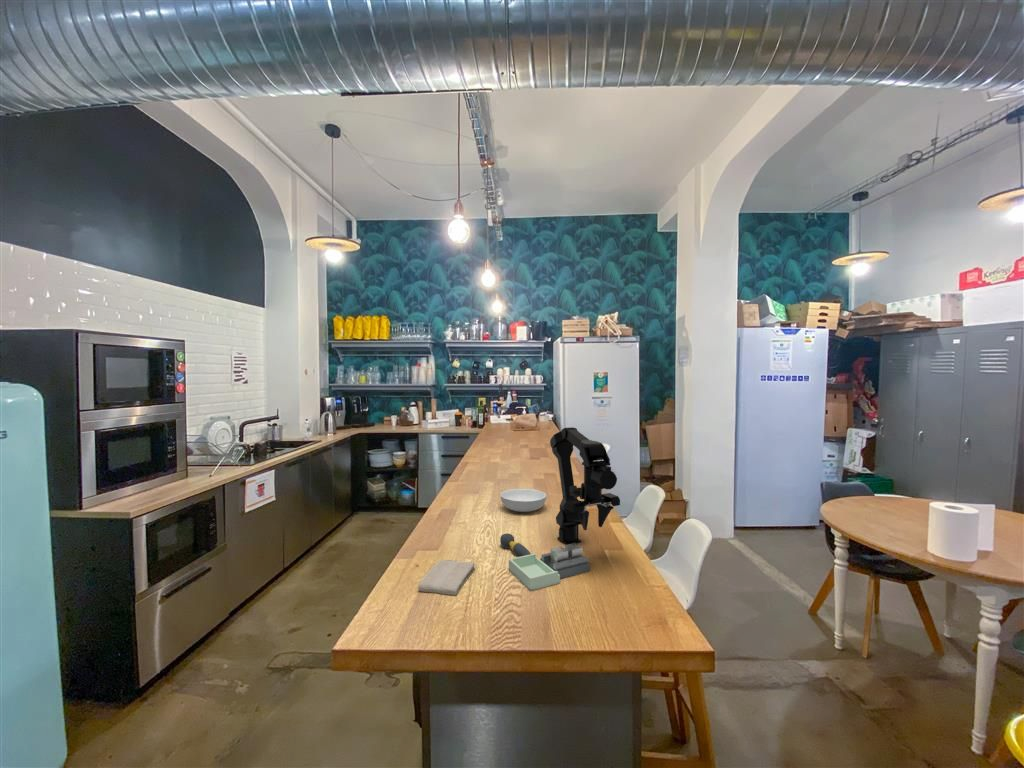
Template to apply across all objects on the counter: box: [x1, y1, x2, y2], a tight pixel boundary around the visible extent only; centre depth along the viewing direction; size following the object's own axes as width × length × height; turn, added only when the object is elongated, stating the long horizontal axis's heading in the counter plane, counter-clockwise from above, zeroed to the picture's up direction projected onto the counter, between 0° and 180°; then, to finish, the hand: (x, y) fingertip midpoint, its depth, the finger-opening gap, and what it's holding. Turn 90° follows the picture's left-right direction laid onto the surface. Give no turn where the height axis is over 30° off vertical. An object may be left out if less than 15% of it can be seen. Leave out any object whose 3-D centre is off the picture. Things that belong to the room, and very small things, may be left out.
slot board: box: [539, 552, 591, 580], centre depth 133 cm, size 12×10×4 cm
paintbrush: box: [499, 533, 532, 557], centre depth 145 cm, size 20×5×5 cm, turn 38°
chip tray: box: [508, 553, 561, 592], centre depth 128 cm, size 10×14×4 cm
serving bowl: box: [500, 488, 547, 513], centre depth 191 cm, size 21×21×7 cm
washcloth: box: [417, 558, 476, 596], centre depth 126 cm, size 12×18×3 cm, turn 168°
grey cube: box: [564, 543, 584, 560], centre depth 134 cm, size 4×4×4 cm
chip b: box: [550, 545, 568, 563], centre depth 132 cm, size 4×4×4 cm
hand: (592, 528), depth 138 cm, fingers open, 6 cm apart
